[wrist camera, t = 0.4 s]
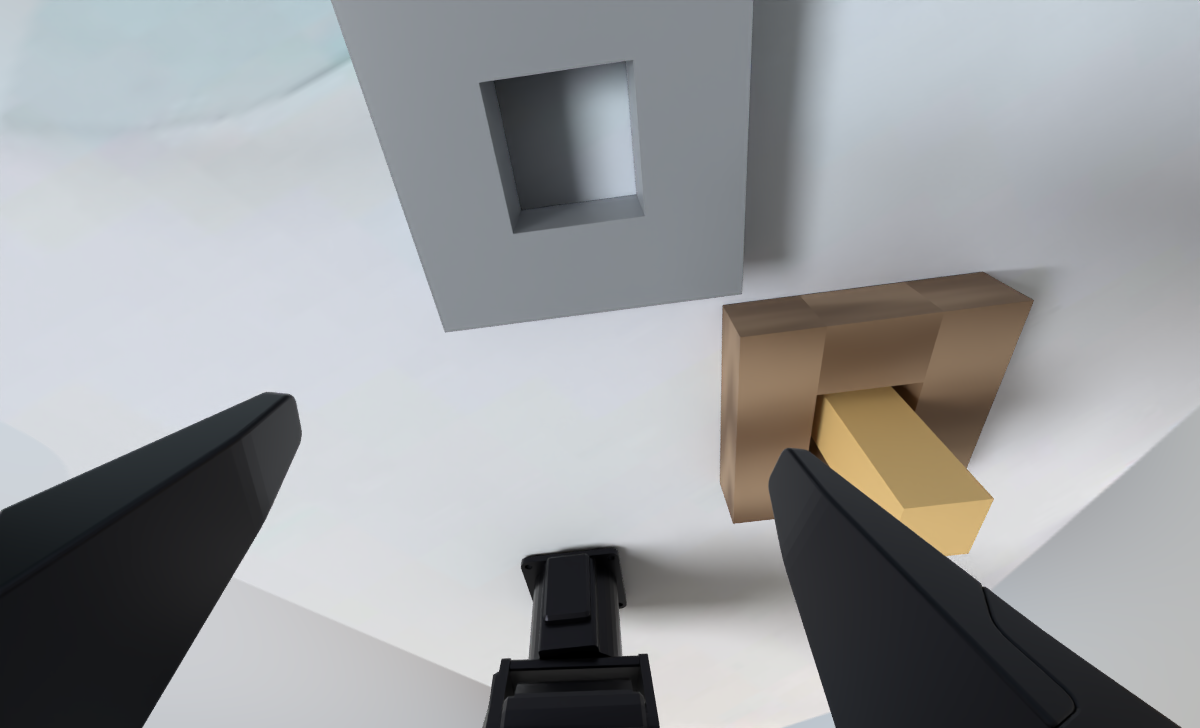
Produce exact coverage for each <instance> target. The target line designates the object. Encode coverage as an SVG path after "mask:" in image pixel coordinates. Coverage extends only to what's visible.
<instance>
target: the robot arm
mask: <svg viewBox="0 0 1200 728" xmlns="http://www.w3.org/2000/svg"><path fill="white" fill-rule="evenodd" d="M301 437H302V430H301V425H300V420H299V414H298V409H297V404H296V401H295V398H294V397H293V396H292V395H290V394H284V393H275V392H265V393H262V394H260V395H258V396H255V397H253V398H251V399H249V400H246V401H244V402H242V403H240V404H237V405H235V406H233V407H231V408H229V409H226V410H224V411H222V412H220V413H217V414H215V415H213V416H211V417H208V418H206V419H204V420H202V421H199V422H197V423H195V424H193V425H191V426H188V427H186V428H184V429H182V430H179V431H177V432H175V433H173V434H170V435H168V436H166V437H164V438H161V439H159V440H157V441H155V442H152V443H150V444H148V445H146V446H144V447H141V448H139V449H137V450H135V451H132V452H130V453H128V454H126V455H123V456H121V457H119V458H117V459H114V460H112V461H110V462H108V463H105V464H103V465H101V466H99V467H96V468H94V469H92V470H90V471H87V472H85V473H83V474H81V475H79V476H76V477H74V478H72V479H70V480H67V481H65V482H63V483H61V484H58V485H56V486H54V487H52V488H50V489H47V490H45V491H43V492H40V493H38V494H36V495H34V496H32V497H29V498H27V499H25V500H23V501H20V502H18V503H16V504H14V505H11V506H9V507H7V508H5V509H3V510H1V512H0V728H142V727H143V726H144V724H145V722H146V721H147V719H148V717H149V715H150V714H151V712H152V710H153V709H154V707H155V705H156V703H157V702H158V700H159V699H160V697H161V695H162V694H163V692H164V690H165V689H166V687H167V685H168V684H169V682H170V680H171V679H172V677H173V675H174V674H175V672H176V670H177V668H178V667H179V665H180V663H181V662H182V660H183V658H184V657H185V655H186V653H187V651H188V650H189V648H190V647H191V645H192V643H193V642H194V639H195V638H196V637H197V635H198V633H199V631H200V630H201V628H202V626H203V625H204V623H205V621H206V620H207V618H208V616H209V615H210V613H211V611H212V610H213V608H214V606H215V605H216V603H217V601H218V600H219V598H220V596H221V595H222V593H223V591H224V589H225V588H226V586H227V584H228V583H229V581H230V579H231V578H232V576H233V574H234V573H235V571H236V569H237V568H238V566H239V564H240V563H241V561H242V559H243V558H244V556H245V554H246V553H247V551H248V549H249V547H250V546H251V544H252V542H253V541H254V539H255V537H256V536H257V534H258V532H259V530H260V529H261V527H262V525H263V523H264V522H265V520H266V517H267V515H268V513H269V511H270V509H271V507H272V505H273V503H274V500H275V498H276V496H277V494H278V491H279V489H280V487H281V485H282V483H283V480H284V478H285V476H286V474H287V471H288V469H289V467H290V465H291V463H292V460H293V458H294V456H295V454H296V451H297V449H298V447H299V445H300V441H301ZM768 489H769V495H770V499H771V504H772V509H773V514H774V519H775V524H776V529H777V534H778V539H779V544H780V549H781V553H782V557H783V561H784V565H785V568H786V572H787V575H788V578H789V581H790V585H791V588H792V591H793V594H794V597H795V600H796V603H797V607H798V610H799V613H800V616H801V619H802V622H803V626H804V629H805V632H806V635H807V638H808V641H809V645H810V648H811V651H812V654H813V657H814V660H815V663H816V667H817V670H818V673H819V676H820V679H821V682H822V686H823V689H824V692H825V695H826V698H827V701H828V704H829V708H830V711H831V714H832V717H833V720H834V723H835V726H836V728H1181V727H1180V726H1178V725H1177V724H1175V723H1174V722H1173V721H1171V720H1170V719H1168V718H1167V717H1166V716H1164V715H1163V714H1161V713H1160V712H1158V711H1157V710H1156V709H1154V708H1153V707H1151V706H1150V705H1148V704H1147V703H1145V702H1144V701H1143V700H1141V699H1140V698H1138V697H1137V696H1136V695H1134V694H1132V693H1131V692H1130V691H1128V690H1127V689H1125V688H1124V687H1123V686H1121V685H1120V684H1118V683H1117V682H1115V681H1114V680H1113V679H1111V678H1110V677H1108V676H1107V675H1105V674H1104V673H1103V672H1101V671H1100V670H1098V669H1097V668H1095V667H1094V666H1093V665H1091V664H1090V663H1088V662H1087V661H1085V660H1084V659H1083V658H1081V657H1080V656H1078V655H1077V654H1076V653H1074V652H1073V651H1071V650H1070V649H1068V648H1067V647H1066V646H1064V645H1063V644H1061V643H1060V642H1059V641H1057V640H1056V639H1054V638H1053V637H1052V636H1050V635H1049V634H1047V633H1046V632H1045V631H1043V630H1042V629H1041V628H1039V627H1038V626H1037V625H1035V624H1034V623H1033V622H1031V621H1030V620H1028V619H1027V618H1026V617H1025V616H1023V615H1022V614H1021V613H1019V612H1018V611H1017V610H1015V609H1014V608H1012V607H1011V606H1010V605H1008V604H1007V603H1006V602H1005V601H1003V600H1002V599H1001V598H999V597H998V596H997V595H995V594H994V593H993V592H992V591H990V590H989V589H988V588H986V587H982V585H981V583H980V582H979V581H977V580H976V579H975V578H973V577H972V576H971V575H969V574H968V573H967V572H966V571H964V570H963V569H962V568H960V567H959V566H958V565H956V564H955V563H954V562H952V561H951V560H950V559H949V558H947V557H946V556H945V555H943V554H942V553H941V552H939V551H938V550H937V549H936V548H934V547H933V546H932V545H930V544H929V543H928V542H926V541H925V540H924V539H923V538H921V537H920V536H919V535H917V534H916V533H915V532H913V531H912V530H911V529H910V528H908V527H907V526H906V525H904V524H903V523H902V522H900V521H899V520H898V519H896V518H895V517H894V516H893V515H891V514H890V513H889V512H887V511H886V510H885V509H883V508H882V507H881V506H880V505H878V504H877V503H876V502H874V501H873V500H872V499H870V498H869V497H868V496H867V495H865V494H864V493H863V492H861V491H860V490H859V489H857V488H856V487H855V486H854V485H852V484H851V483H850V482H848V481H847V480H846V479H844V478H843V477H842V476H841V475H839V474H838V473H837V472H835V471H834V470H833V469H831V468H830V467H829V466H827V465H826V464H825V463H824V462H822V461H821V460H820V459H818V458H817V457H816V456H814V455H813V454H812V453H811V452H809V451H808V450H805V449H798V448H786V449H784V450H783V451H782V453H781V454H780V456H779V459H778V461H777V463H776V465H775V467H774V469H773V471H772V473H771V475H770V478H769V482H768ZM521 569H522V572H523V575H524V578H525V580H526V583H527V586H528V589H529V592H530V595H531V597H532V600H533V611H532V623H531V636H530V648H529V659H528V660H511V658H506V659H502V660H501V665H500V670H499V672H497V673H496V674H494V675H493V680H492V687H491V695H490V701H489V706H488V710H487V714H486V717H485V721H484V724H483V728H660V726H659V719H658V713H657V707H656V701H655V695H654V689H653V683H652V677H651V671H650V665H649V660H648V654H638V656H622V645H621V631H620V617H619V609H621V608H624V607H625V606H626V596H625V590H624V584H623V578H622V572H621V566H620V560H619V554H618V551H617V550H616V549H614V548H606V549H597V550H588V551H579V552H570V553H561V554H552V555H543V556H534V557H526V558H524V559H522V562H521Z"/></svg>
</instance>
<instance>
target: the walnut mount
mask: <svg viewBox="0 0 1200 728" xmlns="http://www.w3.org/2000/svg"><path fill="white" fill-rule="evenodd" d="M1033 301H1034V300H1032V299H1030V298H1029V297H1027V296H1025V295H1023V294H1022V293H1020V292H1018V291H1016V290H1015V289H1013V288H1011V287H1009V286H1007V285H1006V284H1004V283H1002V282H1000V281H999V280H997V279H995V278H993V277H991V276H990V275H988V274H986V273H984V272H978V273H971V274H963V275H955V276H947V277H939V278H932V279H924V280H916V281H908V282H900V283H893V284H885V285H877V286H869V287H862V288H854V289H846V290H838V291H830V292H823V293H815V294H807V295H799V296H792V297H784V298H776V299H768V300H760V301H753V302H745V303H737V304H729V305H723V314H722V381H721V448H720V485H721V488H722V491H723V494H724V497H725V500H726V503H727V506H728V509H729V512H730V515H731V518H732V522H733V524H735V523H743V522H752V521H761V520H770V519H774V514H773V509H772V504H771V499H770V495H769V489H768V482H769V478H770V475H771V473H772V471H773V469H774V467H775V465H776V463H777V461H778V459H779V456H780V454H781V453H782V451H783V450H784V449H786V448H798V449H805V450H808V451H809V452H811V453H812V454H813V455H814V456H816V457H817V458H818V459H820V460H821V461H822V462H824V463H825V464H826V465H827V466H829V465H828V463H827V462H826V460H825V458H824V457H823V455H822V453H821V452H820V450H819V448H818V447H817V445H816V443H815V441H814V440H813V438H812V436H811V431H812V424H813V418H814V411H815V404H816V397H817V395H822V394H830V393H839V392H847V391H855V390H863V389H872V388H880V387H888V386H891V387H892V388H893V389H894V390H895V391H896V392H897V393H898V394H899V396H900V397H901V398H902V399H903V400H904V401H905V402H906V403H907V404H908V405H909V406H910V408H911V409H912V410H913V411H914V412H915V413H916V414H917V415H918V416H919V417H920V418H921V420H922V421H923V422H924V423H925V424H926V425H927V426H928V427H929V428H930V429H931V430H932V432H933V433H934V434H935V435H936V436H937V437H938V438H939V439H940V440H941V441H942V443H943V444H944V445H945V446H946V447H947V448H948V449H949V450H950V451H951V452H952V453H953V455H954V456H955V457H956V458H957V459H958V460H959V461H960V462H961V463H962V464H963V465H964V467H965V468H967V466H968V463H969V461H970V458H971V456H972V453H973V451H974V448H975V446H976V443H977V441H978V438H979V436H980V433H981V431H982V428H983V426H984V423H985V421H986V418H987V416H988V413H989V411H990V408H991V406H992V404H993V401H994V399H995V396H996V394H997V391H998V389H999V386H1000V384H1001V381H1002V379H1003V376H1004V374H1005V371H1006V369H1007V366H1008V364H1009V361H1010V359H1011V356H1012V354H1013V351H1014V349H1015V346H1016V344H1017V341H1018V339H1019V336H1020V334H1021V331H1022V329H1023V326H1024V324H1025V321H1026V319H1027V316H1028V314H1029V311H1030V309H1031V306H1032V304H1033Z"/></svg>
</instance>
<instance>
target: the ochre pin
mask: <svg viewBox="0 0 1200 728" xmlns="http://www.w3.org/2000/svg"><path fill="white" fill-rule="evenodd" d="M811 436H812V438H813V440H814V441H815V443H816V445H817V447H818V448H819V450H820V452H821V453H822V455H823V457H824V458H825V460H826V462H827V463H828V465H829V467H830V468H831V469H833V470H834V471H835V472H837V473H838V474H839V475H841V476H842V477H843V478H844V479H846V480H847V481H848V482H850V483H851V484H852V485H854V486H855V487H856V488H857V489H859V490H860V491H861V492H863V493H864V494H865V495H867V496H868V497H869V498H870V499H872V500H873V501H874V502H876V503H877V504H878V505H880V506H881V507H882V508H883V509H885V510H886V511H887V512H889V513H890V514H891V515H893V516H894V517H895V518H896V519H898V520H899V521H900V522H902V523H903V524H904V525H906V526H907V527H908V528H910V529H911V530H912V531H913V532H915V533H916V534H917V535H919V536H920V537H921V538H923V539H924V540H925V541H926V542H928V543H929V544H930V545H932V546H933V547H934V548H936V549H937V550H938V551H939V552H941V553H942V554H943V555H945V556H950V555H959V554H968V553H969V551H970V549H971V547H972V545H973V542H974V540H975V538H976V536H977V534H978V532H979V530H980V528H981V525H982V523H983V521H984V519H985V517H986V515H987V513H988V510H989V508H990V506H991V504H992V502H993V500H994V498H993V497H992V496H991V495H990V494H989V493H988V492H987V491H986V490H985V488H984V487H983V486H982V485H981V484H980V483H979V482H978V481H977V480H976V479H975V478H974V476H973V475H972V474H971V473H970V472H969V471H968V470H967V469H966V468H965V467H964V465H963V464H962V463H961V462H960V461H959V460H958V459H957V458H956V457H955V456H954V455H953V453H952V452H951V451H950V450H949V449H948V448H947V447H946V446H945V445H944V444H943V443H942V441H941V440H940V439H939V438H938V437H937V436H936V435H935V434H934V433H933V432H932V430H931V429H930V428H929V427H928V426H927V425H926V424H925V423H924V422H923V421H922V420H921V418H920V417H919V416H918V415H917V414H916V413H915V412H914V411H913V410H912V409H911V408H910V406H909V405H908V404H907V403H906V402H905V401H904V400H903V399H902V398H901V397H900V396H899V394H898V393H897V392H896V391H895V390H894V389H893V388H892V387H891V386H888V387H880V388H872V389H863V390H855V391H847V392H839V393H830V394H822V395H817V397H816V404H815V411H814V418H813V424H812V431H811Z"/></svg>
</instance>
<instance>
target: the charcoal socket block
mask: <svg viewBox="0 0 1200 728" xmlns="http://www.w3.org/2000/svg"><path fill="white" fill-rule="evenodd" d="M331 2H332V5H333V8H334V11H335V14H336V16H337V19H338V22H339V25H340V28H341V31H342V34H343V37H344V40H345V43H346V46H347V48H348V51H349V54H350V57H351V60H352V63H353V66H354V69H355V72H356V75H357V78H358V80H359V83H360V86H361V89H362V92H363V95H364V98H365V101H366V104H367V107H368V110H369V112H370V115H371V118H372V121H373V124H374V127H375V130H376V133H377V136H378V139H379V142H380V145H381V147H382V150H383V153H384V156H385V159H386V162H387V165H388V168H389V171H390V174H391V177H392V179H393V182H394V185H395V188H396V191H397V194H398V197H399V200H400V203H401V206H402V209H403V211H404V214H405V217H406V220H407V223H408V226H409V229H410V232H411V235H412V238H413V241H414V243H415V246H416V249H417V252H418V255H419V258H420V261H421V264H422V267H423V270H424V273H425V275H426V278H427V281H428V284H429V287H430V290H431V293H432V296H433V299H434V302H435V305H436V307H437V310H438V313H439V316H440V319H441V322H442V325H443V328H444V331H445V332H452V331H460V330H468V329H476V328H483V327H491V326H499V325H507V324H514V323H522V322H530V321H538V320H545V319H553V318H561V317H569V316H576V315H584V314H592V313H599V312H607V311H615V310H623V309H630V308H638V307H646V306H654V305H661V304H669V303H677V302H685V301H692V300H700V299H708V298H716V297H723V296H731V295H739V294H742V282H743V256H744V230H745V205H746V179H747V153H748V127H749V101H750V75H751V49H752V23H753V0H331ZM622 61H626V71H627V84H628V96H629V108H630V120H631V133H632V145H633V157H634V170H635V182H636V194H637V195H630V196H622V197H615V198H608V199H601V200H593V201H586V202H579V203H571V204H564V205H557V206H550V207H542V208H535V209H528V210H521V208H520V203H519V198H518V194H517V189H516V184H515V179H514V175H513V170H512V165H511V161H510V156H509V151H508V146H507V142H506V137H505V132H504V128H503V123H502V118H501V113H500V109H499V104H498V99H497V95H496V90H495V85H494V80H500V79H507V78H514V77H520V76H527V75H534V74H541V73H547V72H554V71H561V70H568V69H575V68H581V67H588V66H595V65H602V64H608V63H615V62H622Z"/></svg>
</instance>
